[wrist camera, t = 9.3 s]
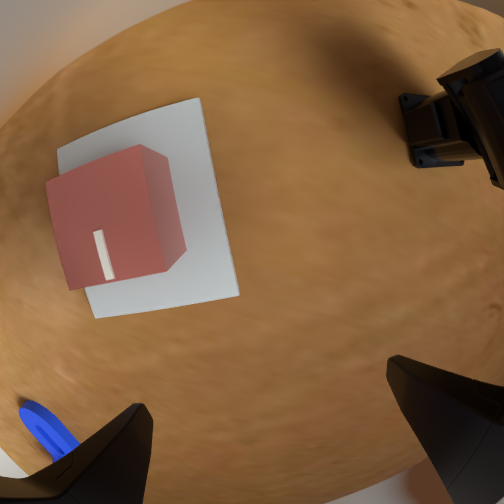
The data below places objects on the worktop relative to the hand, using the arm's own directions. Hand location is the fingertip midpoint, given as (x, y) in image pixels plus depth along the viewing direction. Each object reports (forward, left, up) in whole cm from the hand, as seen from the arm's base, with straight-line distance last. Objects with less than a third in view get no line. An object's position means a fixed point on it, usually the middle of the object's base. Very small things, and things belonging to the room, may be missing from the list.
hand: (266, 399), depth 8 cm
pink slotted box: (+7, -7, -11) cm, 15 cm away
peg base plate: (+7, -7, -12) cm, 16 cm away
